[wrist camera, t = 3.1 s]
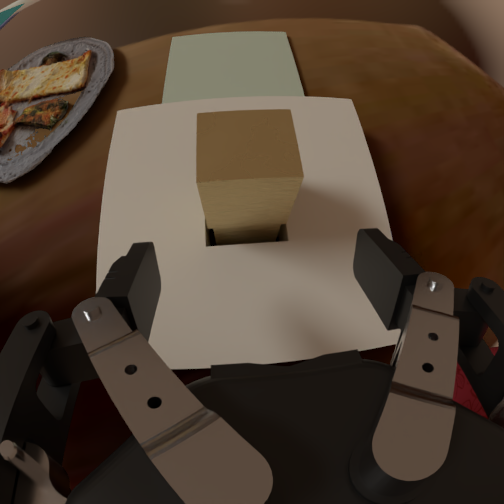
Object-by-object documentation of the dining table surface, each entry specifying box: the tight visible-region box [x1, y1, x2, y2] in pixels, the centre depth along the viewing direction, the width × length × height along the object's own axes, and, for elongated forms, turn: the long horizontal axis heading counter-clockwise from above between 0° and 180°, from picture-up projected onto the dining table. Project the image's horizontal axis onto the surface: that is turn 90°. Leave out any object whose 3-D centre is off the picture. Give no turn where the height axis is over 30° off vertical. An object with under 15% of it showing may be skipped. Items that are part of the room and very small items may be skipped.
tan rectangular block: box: [196, 109, 304, 246], centre depth 19 cm, size 5×4×11 cm
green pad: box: [162, 32, 305, 104], centre depth 29 cm, size 14×14×1 cm
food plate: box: [0, 37, 114, 184], centre depth 26 cm, size 25×23×4 cm
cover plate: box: [96, 96, 401, 369], centre depth 22 cm, size 20×20×4 cm
